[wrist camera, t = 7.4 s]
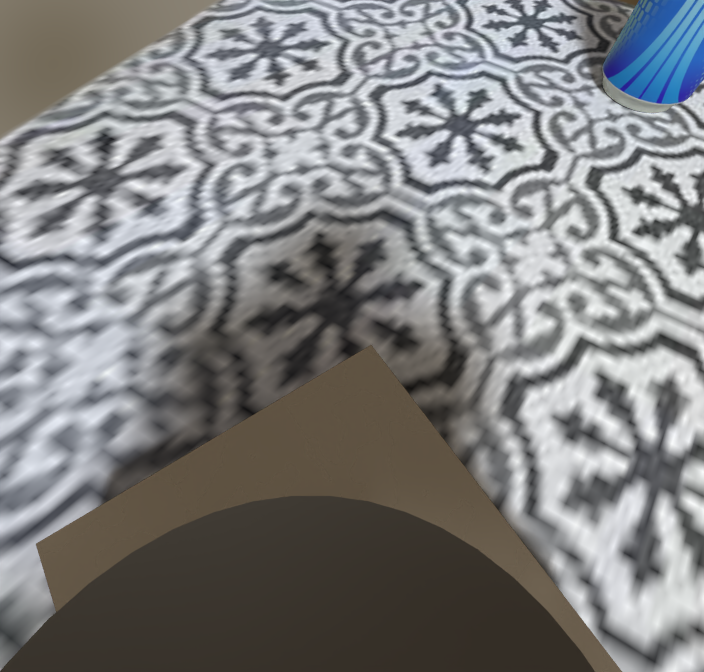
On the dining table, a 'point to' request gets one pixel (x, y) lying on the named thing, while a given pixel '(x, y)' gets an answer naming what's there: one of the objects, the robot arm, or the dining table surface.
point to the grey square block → (314, 484)
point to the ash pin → (303, 600)
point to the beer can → (657, 56)
